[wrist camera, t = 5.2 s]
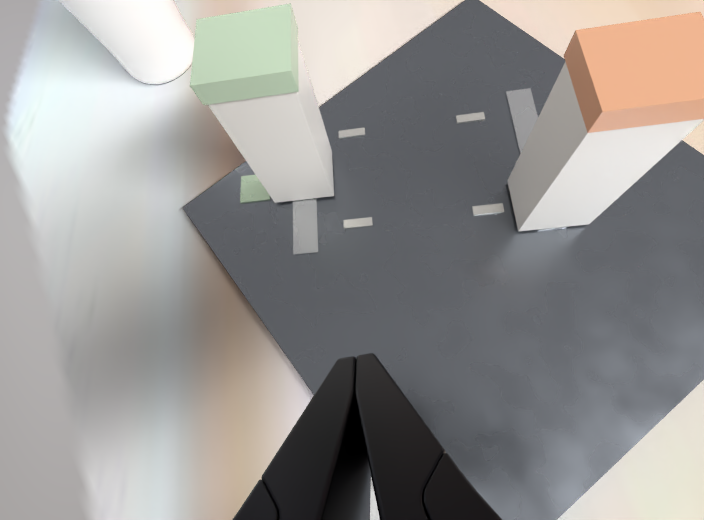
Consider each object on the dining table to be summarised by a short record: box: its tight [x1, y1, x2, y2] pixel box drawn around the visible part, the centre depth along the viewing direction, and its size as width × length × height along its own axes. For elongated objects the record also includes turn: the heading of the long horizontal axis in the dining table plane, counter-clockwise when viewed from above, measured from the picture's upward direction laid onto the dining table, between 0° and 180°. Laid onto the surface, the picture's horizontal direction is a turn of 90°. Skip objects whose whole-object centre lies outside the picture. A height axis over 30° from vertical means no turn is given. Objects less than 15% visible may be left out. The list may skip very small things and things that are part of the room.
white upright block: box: [190, 4, 334, 203], centre depth 19 cm, size 3×4×9 cm
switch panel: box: [183, 0, 704, 520], centre depth 21 cm, size 24×24×1 cm
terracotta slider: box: [507, 12, 704, 231], centre depth 16 cm, size 3×4×9 cm
